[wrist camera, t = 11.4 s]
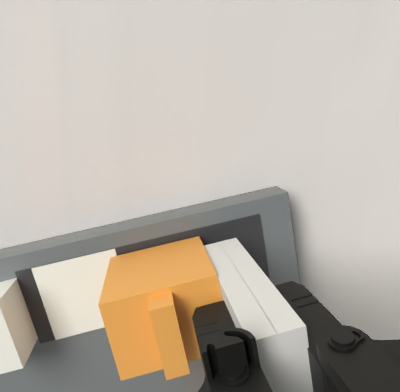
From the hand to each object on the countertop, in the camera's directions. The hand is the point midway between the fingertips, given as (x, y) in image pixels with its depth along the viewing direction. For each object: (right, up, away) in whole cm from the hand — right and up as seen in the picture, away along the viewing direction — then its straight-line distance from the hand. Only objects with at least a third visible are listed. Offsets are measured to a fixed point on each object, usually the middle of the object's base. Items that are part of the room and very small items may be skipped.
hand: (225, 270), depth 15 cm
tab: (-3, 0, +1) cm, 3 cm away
